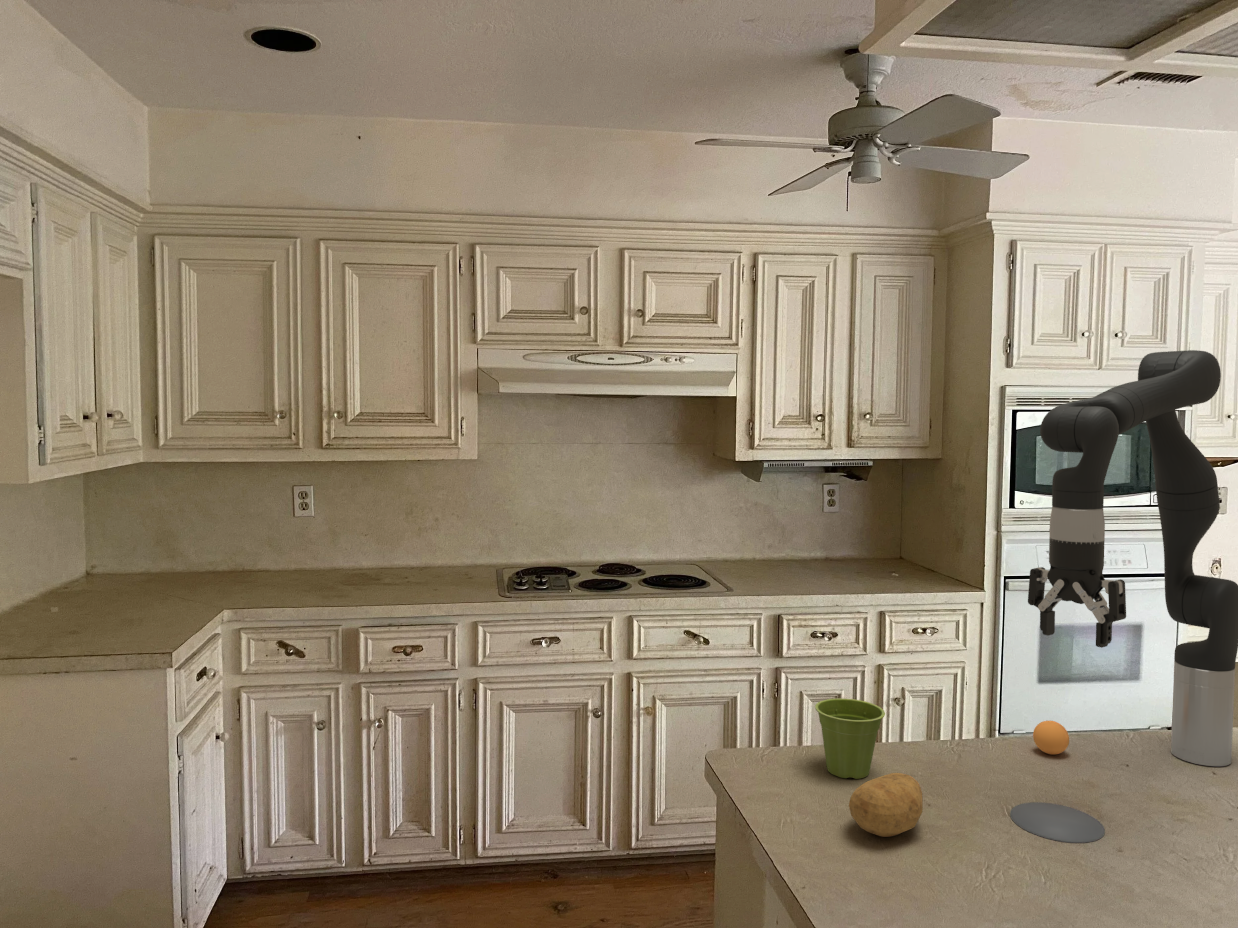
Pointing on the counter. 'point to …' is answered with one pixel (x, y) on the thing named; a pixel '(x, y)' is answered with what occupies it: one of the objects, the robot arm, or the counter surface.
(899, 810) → the potato
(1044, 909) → the counter surface
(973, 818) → the counter surface
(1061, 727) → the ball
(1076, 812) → the disc
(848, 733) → the plant pot
